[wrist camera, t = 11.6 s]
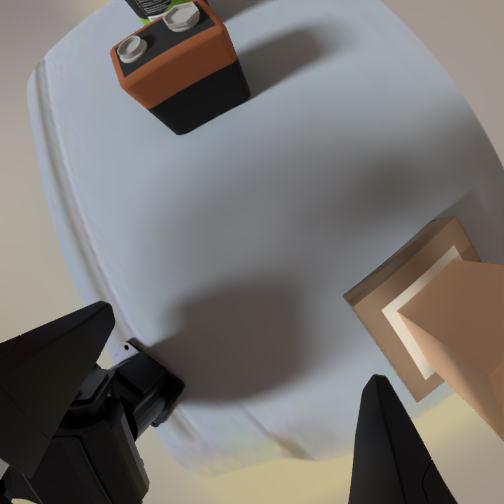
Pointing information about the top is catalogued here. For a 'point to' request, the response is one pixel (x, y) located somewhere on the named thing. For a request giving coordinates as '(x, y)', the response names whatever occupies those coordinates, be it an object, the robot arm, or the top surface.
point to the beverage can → (153, 8)
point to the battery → (182, 67)
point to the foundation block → (408, 298)
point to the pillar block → (464, 333)
